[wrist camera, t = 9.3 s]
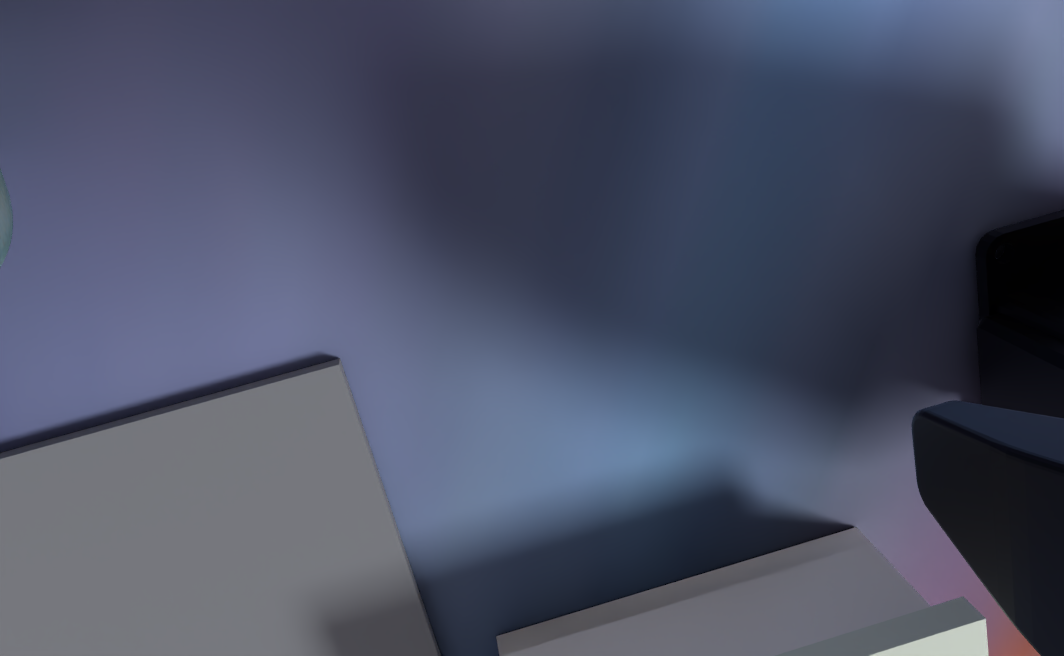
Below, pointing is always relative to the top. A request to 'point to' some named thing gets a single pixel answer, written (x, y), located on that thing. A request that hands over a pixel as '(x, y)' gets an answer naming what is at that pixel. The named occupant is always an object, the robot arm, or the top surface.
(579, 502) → the top surface
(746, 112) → the top surface
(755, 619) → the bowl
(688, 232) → the top surface
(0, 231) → the flower pot
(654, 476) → the top surface
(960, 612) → the lid
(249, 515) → the mat
